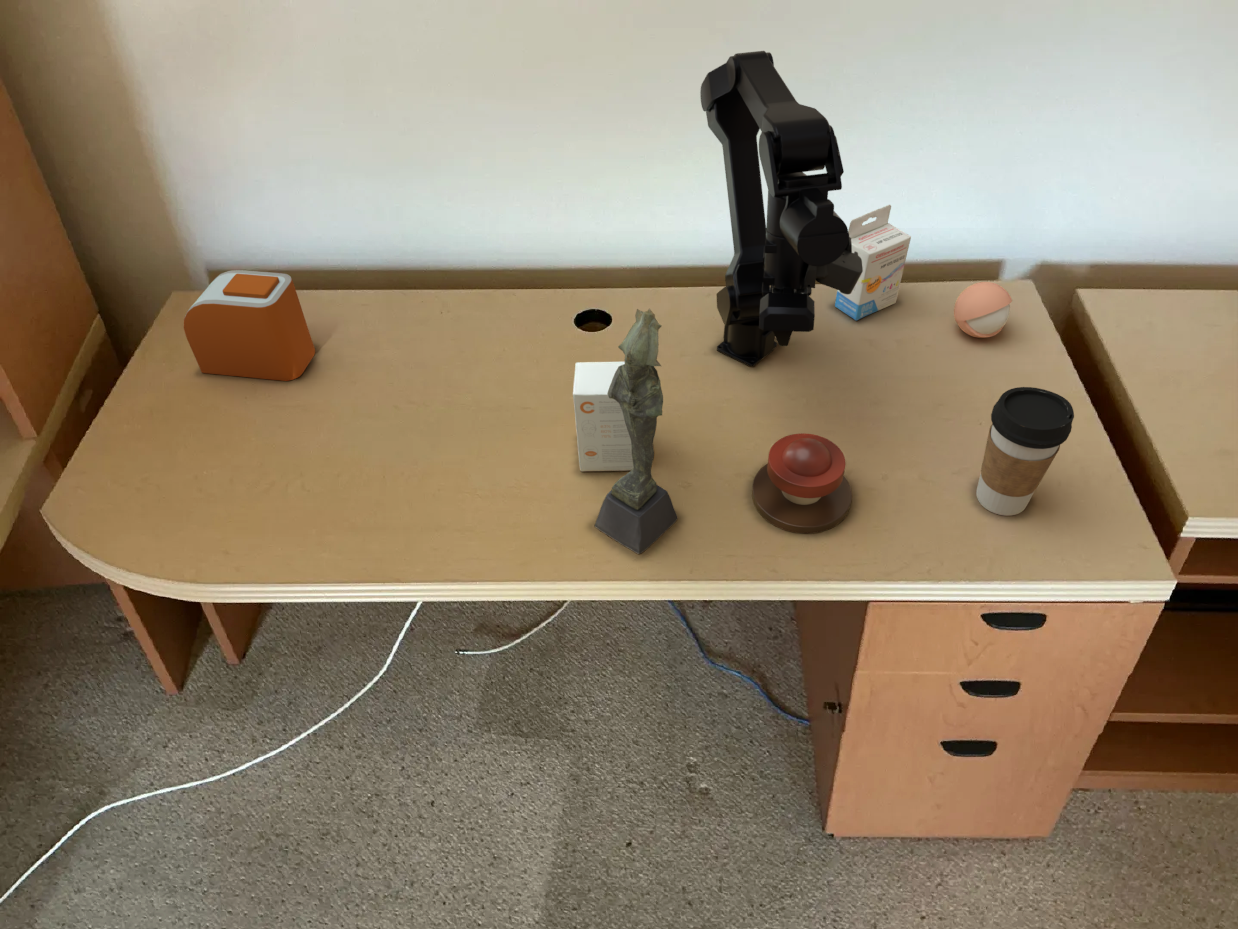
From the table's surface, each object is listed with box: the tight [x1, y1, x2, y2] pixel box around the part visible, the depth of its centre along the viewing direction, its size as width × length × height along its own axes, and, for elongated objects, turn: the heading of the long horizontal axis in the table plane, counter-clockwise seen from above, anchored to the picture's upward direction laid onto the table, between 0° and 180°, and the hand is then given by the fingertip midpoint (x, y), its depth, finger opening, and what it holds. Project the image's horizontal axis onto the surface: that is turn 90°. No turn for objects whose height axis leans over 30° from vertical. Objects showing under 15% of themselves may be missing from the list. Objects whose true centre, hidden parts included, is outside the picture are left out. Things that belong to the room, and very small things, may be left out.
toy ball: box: [953, 281, 1013, 339], centre depth 135 cm, size 8×8×8 cm
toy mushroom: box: [751, 432, 853, 534], centre depth 112 cm, size 12×12×9 cm
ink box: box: [834, 204, 912, 321], centre depth 138 cm, size 8×5×15 cm, turn 123°
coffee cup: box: [975, 386, 1075, 517], centre depth 109 cm, size 8×8×15 cm
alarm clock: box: [183, 269, 316, 382], centre depth 133 cm, size 15×8×14 cm, turn 80°
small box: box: [572, 361, 633, 472], centre depth 117 cm, size 8×6×13 cm
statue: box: [594, 308, 679, 555], centre depth 102 cm, size 7×8×30 cm
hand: (783, 344), depth 118 cm, fingers closed
